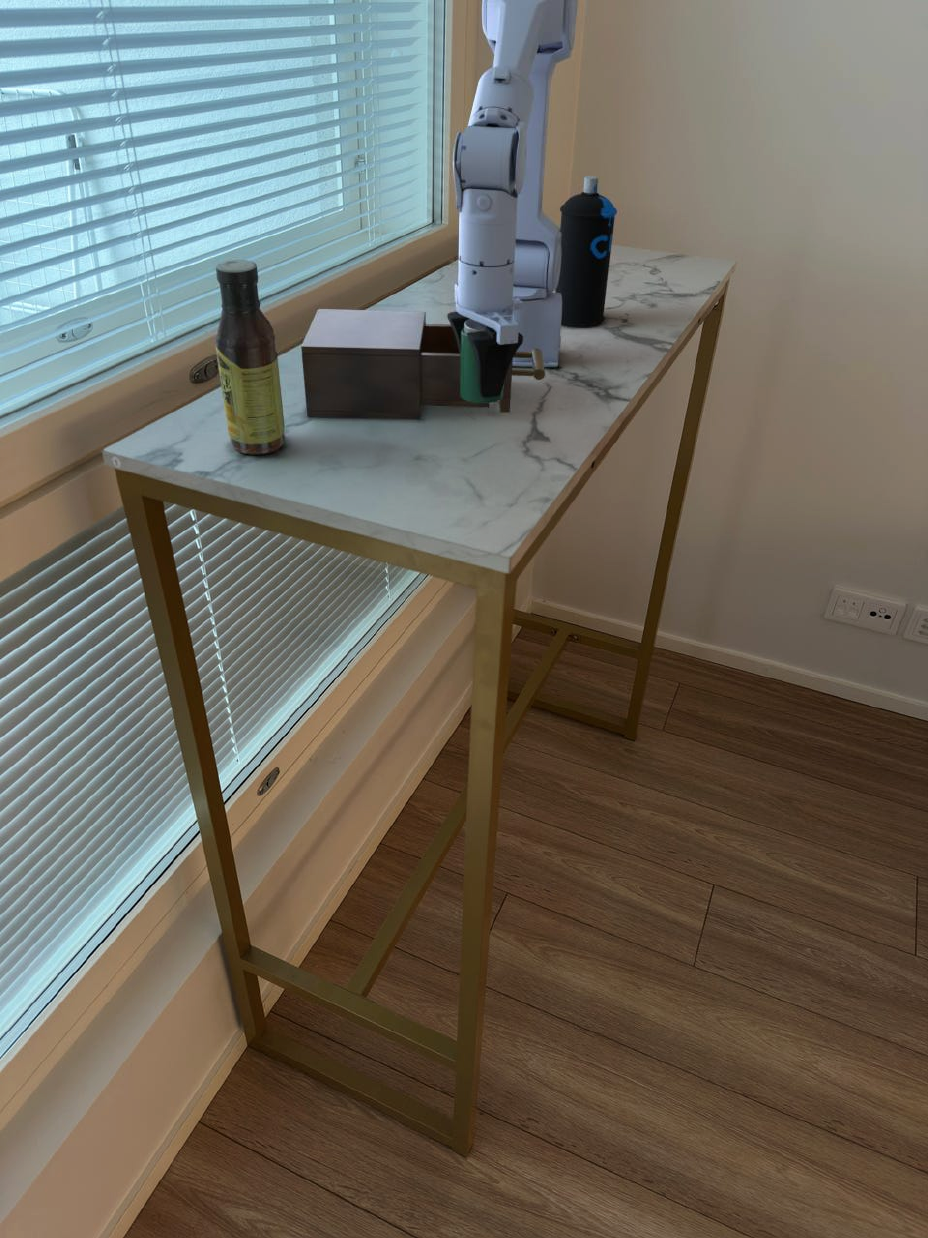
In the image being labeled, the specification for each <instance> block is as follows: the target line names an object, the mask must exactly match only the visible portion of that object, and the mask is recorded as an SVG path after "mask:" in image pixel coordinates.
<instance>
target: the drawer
mask: <svg viewBox="0 0 928 1238" xmlns="http://www.w3.org/2000/svg"><path fill="white" fill-rule="evenodd" d="M513 358H532V369H519V368H517V369H515V368H513V366H512V365H513V359H512V361H511V363H510V366H509V368H508V371H507V374H506V378H505V381H504V388H503V398H502V399H501V400H499V413H501V414H511V401H512V400H511V399H512V383H513V382H512V381H513V377H533V378H534V379H535V380H537V381H542V380H544V378H545V377H546V370H545V367H544V362H543V356H542V351H541V350H540V349H534V350H532V352H516V353H515V355H514V357H513ZM420 377H421V406H422V407H447V408H448V407H449V408H450V407H451V408H481V409H483V408H485V409H486V408H487V409H489V408H490V403H487V404H479V403H472V402H469V401H466V400H464V399H463V398H462V397H461V396H460V378H461V357H460V352H459V347H458V343H457V339H456V336H455V333H454V331H453V328H452V326H451V324H450V323H449V324H448V323H447V324H446V323H445V324H444V323H426V324H425V326H424V333H423V339H422V346H421V352H420Z"/></svg>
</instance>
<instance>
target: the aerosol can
mask: <svg viewBox="0 0 928 1238" xmlns="http://www.w3.org/2000/svg"><path fill="white" fill-rule="evenodd" d="M598 185H599V176H595V175H586V176H584V180H583V191H582V192H581V193H578V194H575V195H573V196H571V197H569V198H568V199H567V200H566V201H565V202H564V204H563V205H561V206H560V207H559V211H560V212H561V213H560V227H559V229H560V232H561V266H560V275H559V281H558V286H557V288H556V289H555V290H554V293H561V295H562V318H561V326H564V327H565V326H566V327H571V328H593V327H597V326H600V325H602V324H604V322H605V321H606V318H605V317H606V316H605V309H606V308H605V307H606V300H607V299H606V298H607V289H608V281H609V272H610V271H609V270H610V263H611V253H612V243H613V236H614V225H615V219H616V218H615V217H616V215H617V213H618V210H617V208H616V207H615V206H614V204H613V203H612V201H611V200H610V199H608V198H607V197H605V196H604V195H601V194H600V193H598Z"/></svg>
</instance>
